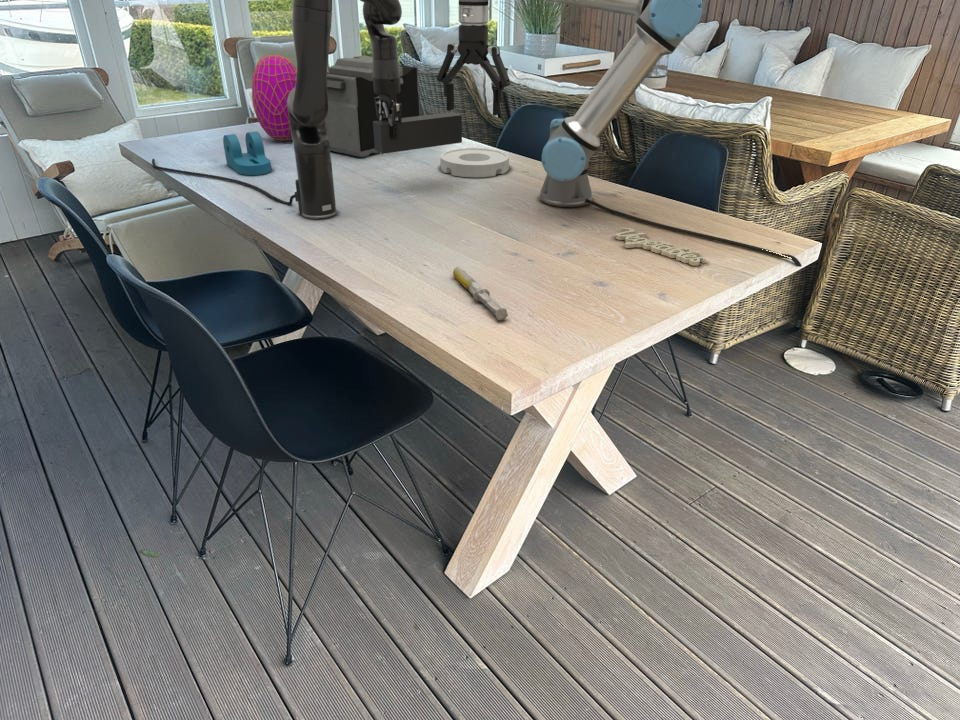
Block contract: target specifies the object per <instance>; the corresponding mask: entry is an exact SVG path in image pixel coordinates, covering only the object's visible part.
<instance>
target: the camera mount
mask: <svg viewBox="0 0 960 720" xmlns="http://www.w3.org/2000/svg"><path fill="white" fill-rule="evenodd" d="M222 140H223V141H222V143H223V149H224V150H223V151H224V156H225V161H226V165H227V166H228V167H230V168H231V169H232V170H234V171H236V172H237V173H238V174H239V175H244V176H260V175H265V174H268V173H271V172H272V164H271V159H270V158H268V157H267V156H266V153H265V145H264V141H263V139H262V136H261V134H260V132H258V131H247V132H246V133H245V146H246V152H243V151H242V150H243V149H242V146H241V142H240V140H239V138H238V135H236V134H235V133H231V134H224V135H223V138H222Z"/></svg>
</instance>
